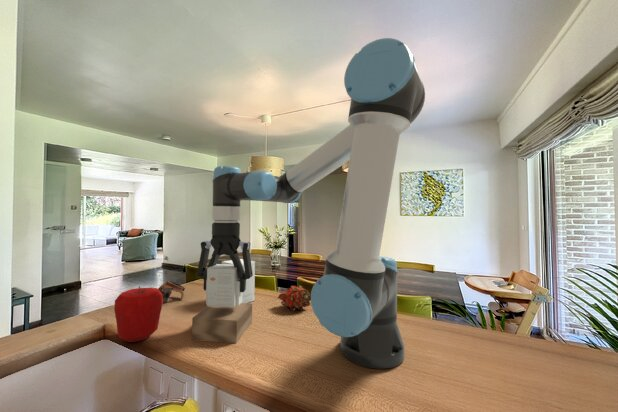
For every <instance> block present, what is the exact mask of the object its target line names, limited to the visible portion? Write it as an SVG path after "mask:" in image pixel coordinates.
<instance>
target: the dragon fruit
mask: <svg viewBox="0 0 618 412" xmlns="http://www.w3.org/2000/svg"><path fill="white" fill-rule="evenodd" d="M277 300H280V301H281V302H280V304H281V305H282V306H283V307H288V308H290V310H291V311H296V309H297V310H298V311H302V310H303V309H304V308H306V307H309V306H310V305H311V293H310V292H309V291H308V290H307V289H306V288H304V287H303V286H302V285H298V286H296V285H290V287H288V288H287V290H284V291H283V292H282V293H280V294H279V295H278V297H277Z"/></svg>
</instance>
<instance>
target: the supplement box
mask: <svg viewBox="0 0 618 412" xmlns="http://www.w3.org/2000/svg"><path fill="white" fill-rule="evenodd" d="M240 261H241V263H242V266H243V268H244V262H243V258H240ZM221 264H233V262H232V259H230V260H224V261H221ZM251 266H252V273H253V276H252V277H251V278H249V279H246V290H245V291H244V292H243V294H242V303H247V304H250V303H252V302H255V288H256V287H255V285H256V284H255V283H256V282H255V281H256V280H255V279H256V277H255V276H256V273H255V271H256V260H251ZM244 271H245V269H244Z"/></svg>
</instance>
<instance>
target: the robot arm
mask: <svg viewBox="0 0 618 412" xmlns="http://www.w3.org/2000/svg"><path fill="white" fill-rule="evenodd" d="M343 81H344V83H343V85H344V88H345V91H346V94H347V95H348V97H349V98H350V105H349V110H348V111H349V112H348V119H347V123H348V124H349V125H347V127H345V128H343V129H342V130H341V131H339V132H338V133H337V134H336V135H334V136H333V137H331V138H330V139H329V140H327V141H325V143H323V144H322V145H320V146H319V147H318V148H317V149H315V150H314V151H313V152H311V153H310V154H309V155H308V156H306V157H304V158H303V159H302V160H300V162H298V163H296V164H295V165H294V166H292V167H291V168H290V169H289V170H286V172H284V173H283V174H281V175H279V176H277V175H273V174H272V173H271V172H270V171H268V170H254V171H246V172H242V169H241V168H239V167H237V166H232V165H231V166H230V165H221V166H216V167H215V168H214V169H213V177H212V178H213V179H212V210H211V211H212V212H211V213H212V214H211V220H212V221H213V222H212V223H211V240H204V241H201V242H200V248H201V249H200V250H201V251H200V257H199V262H198V266H197V271H196V276H197V277H198V278H199V277H200V278H202V280H203V287H202V288H203V291H205V304H206V305H207V268H208V267H212V266H215V265H216V264H218V262H219V259H220V257H221V256H223V255H225V256H229V258H230V260H232V262H233V264H234V267H235V268H237V275H238V277H239V280H238V281H237V286H236V305H240V304H241V303H242V294H243V292H244V291H245V290H246V279H249V278H251V277H252V276H253V273H252V266H251V261H252V259H251V254H250V249H251V248H250V247H251V242H249V241H247V242H246V241H241V237H240V233H241V232H240V231H241V228H240V227H241V223H240V222H239V221H241V201H255V202H256V201H257V202H272V203H273V202H274V203H283V204H289V203H294V202H297V201H299V199H300V197H301V196H302V193H303V192H304V191H305V190H307V189H308V188H311V187H312V186H313V185H315V184H316V183H317V182H319V181H321V180H322V179H324V178H325V177H327V176H328V175H330V174H331V173H333V172H334V171H336V170H337V169H339V168H340V167H342V166H344V165H346V163H348V168H347V172H346V173H347V174H346V181H345V187H344V193H343V199H342V207H341V211H340V216H339V217H340V219H339V225H338V231H337V237H336V245H335V248H334V250H332V251H331V252H330V253H328V254H327V255H326V259H325V265H324V271H323V275H322V276H321V277H319V278H318V279H317V281H316V282H315V283H314V284H313V286H312V288H311V293H310V296H311V300H310V305H311V307H312V312H313V313H314V315H315V316H316V318H317V320H318V322H319V324H320V325H321V326H322V327H323V328H324V329H326V330H327V331H328V332H329V333H331V334H333V335H335V336H338V337H340V340H339V341H340V343H339V344H340V347H339V348H340V352H341V353H342V355H343V356H344V357H345V358H347V360H349V361H351V362H352V363H355V364H356V365H358V366H359V365H360V366H362V367H365V368H371V369H383V370H384V369H385V370H386V369H391V368H394V367H398V366H399V365H401V364H402V363H403V361H404V360H405V343H404V340H403V337H402V334H401V331H400V328H399V324H398V316H397V315H398V274H399V271H398V264H397V261H396V260H395V259H394V258H391V257H387V256H386V257H385V256H380V253H381V249H382V248H381V247H382V240H383V236H384V230H385V223H386V218H387V212H388V206H389V200H390V195H391V194H390V193H391V189H392V182H393V177H394V170H395V165H396V157H397V154H398V147H399V141H400V135H401V134H402V133H403V132H405V131H406V130H407V129H409V128H410V126H411V124H412V123H413V122H414V121H415V120H416V119H417V118H418V116H419V115H420V114H421V112H422V110H423V107H424V104H425V101H426V100H425V99H426V92H425V86H424V83H423V81H422V79H421V77H420V73H419V71H418V69H417V67H416V59H415V56H414V54H413V53H412V52H411V51H410V49H409V47H408V46H407V45H406V44H405V43H404V42H403V41H401V40H399V39H396V38H393V37H388V38H387V37H384V38H383V37H382V38H379V39H376V40H373V41H371V42H368V43H367V44H365V45H364V46H363V47H361V49H360V50H359V51H358V52H356V53H355V54H354V55H353V56H352V58H351V59H350V60H349V62H348V65H347V66H346V69H345V72H344V78H343ZM211 247H212V248H213V252H212V254H211V258H210V260H209V255H210V251H211V250H210V249H211ZM239 247H240V250H241V251H242V259H243V262H244V268H243V266H242V263H241V261H240V259H241V258H240V255H239V251H238V248H239ZM208 261H209V263H208ZM244 269H245V271H244Z"/></svg>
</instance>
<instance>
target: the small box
mask: <svg viewBox="0 0 618 412" xmlns="http://www.w3.org/2000/svg"><path fill="white" fill-rule="evenodd" d="M207 267H208V266H207ZM207 267H206V269H207V304H206V307H208V306H218V307H235V306H236V286H237V281H238V280H239V277H238V275H237V268H235V267H234V264H222V263H217V264H216V265H215V266H212V267H208V268H207Z"/></svg>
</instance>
